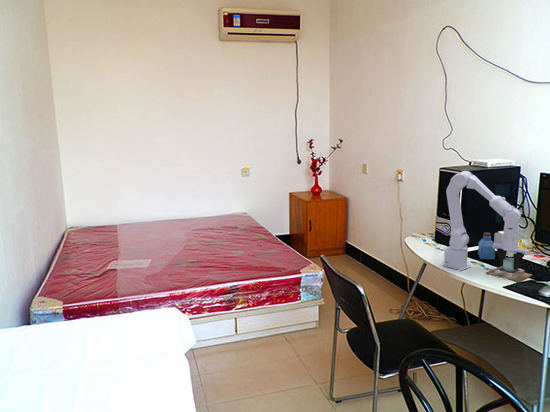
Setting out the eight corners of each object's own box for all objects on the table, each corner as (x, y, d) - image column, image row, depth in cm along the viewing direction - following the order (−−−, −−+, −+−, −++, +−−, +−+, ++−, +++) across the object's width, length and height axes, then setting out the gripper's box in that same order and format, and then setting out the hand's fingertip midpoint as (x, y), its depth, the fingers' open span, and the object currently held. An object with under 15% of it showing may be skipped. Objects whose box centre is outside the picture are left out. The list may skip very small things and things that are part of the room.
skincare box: (509, 254, 215) (510, 230, 213) (513, 257, 211) (514, 233, 209) (496, 254, 216) (497, 231, 213) (500, 257, 212) (501, 233, 209)
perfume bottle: (480, 258, 211) (481, 234, 208) (477, 255, 217) (478, 231, 214) (494, 259, 209) (495, 235, 207) (491, 255, 215) (492, 231, 213)
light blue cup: (500, 270, 189) (500, 259, 188) (506, 267, 192) (506, 257, 191) (512, 273, 185) (512, 262, 184) (518, 270, 188) (518, 259, 187)
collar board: (486, 273, 191) (486, 268, 191) (499, 267, 197) (499, 263, 197) (519, 282, 180) (519, 277, 179) (532, 275, 186) (532, 270, 186)
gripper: (489, 235, 189) (487, 265, 191) (524, 242, 177) (522, 273, 180) (497, 232, 193) (496, 262, 195) (532, 238, 181) (530, 269, 184)
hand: (509, 267), depth 188 cm, fingers closed on light blue cup, 5 cm apart
